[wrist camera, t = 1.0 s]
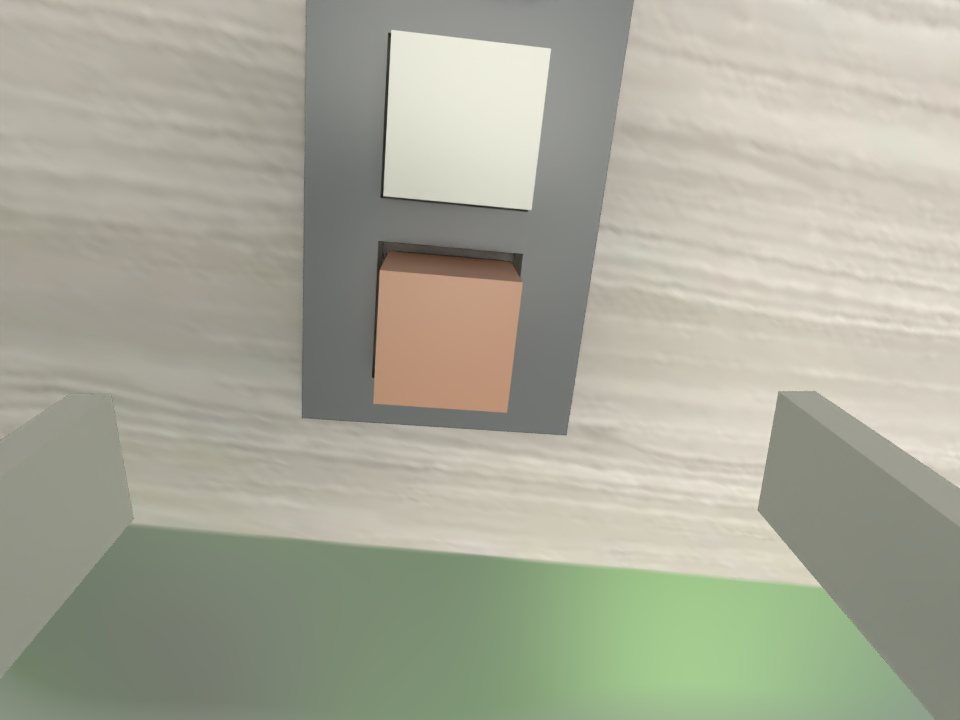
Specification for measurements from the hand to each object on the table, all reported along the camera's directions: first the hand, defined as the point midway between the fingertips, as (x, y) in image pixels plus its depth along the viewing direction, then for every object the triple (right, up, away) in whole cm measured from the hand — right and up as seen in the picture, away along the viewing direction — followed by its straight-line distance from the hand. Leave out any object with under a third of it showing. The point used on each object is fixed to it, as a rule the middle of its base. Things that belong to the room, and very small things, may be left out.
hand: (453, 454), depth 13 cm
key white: (0, +13, +17) cm, 21 cm away
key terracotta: (-1, +4, +20) cm, 20 cm away
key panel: (0, +13, +19) cm, 23 cm away
